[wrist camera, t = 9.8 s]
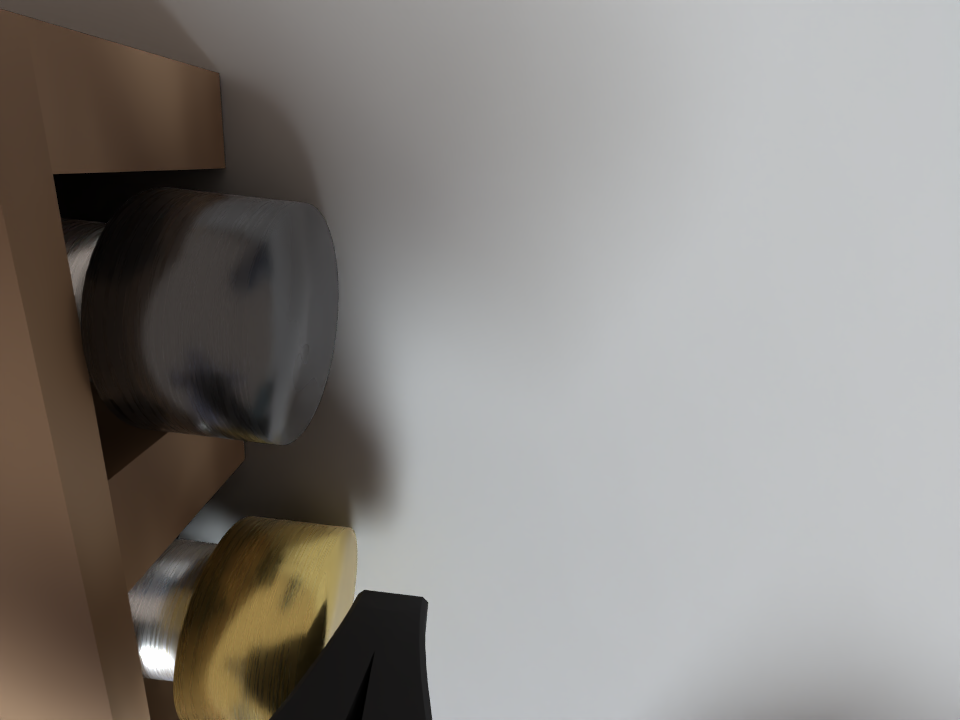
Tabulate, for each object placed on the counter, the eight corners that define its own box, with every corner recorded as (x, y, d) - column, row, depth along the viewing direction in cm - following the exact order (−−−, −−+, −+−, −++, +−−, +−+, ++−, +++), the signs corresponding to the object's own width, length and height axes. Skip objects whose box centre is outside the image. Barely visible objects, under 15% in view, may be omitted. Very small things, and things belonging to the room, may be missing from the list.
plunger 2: (355, 619, 12) (299, 788, 9) (-52, 570, 13) (-256, 720, 9) (358, 491, 11) (294, 634, 8) (-96, 438, 11) (-351, 556, 8)
